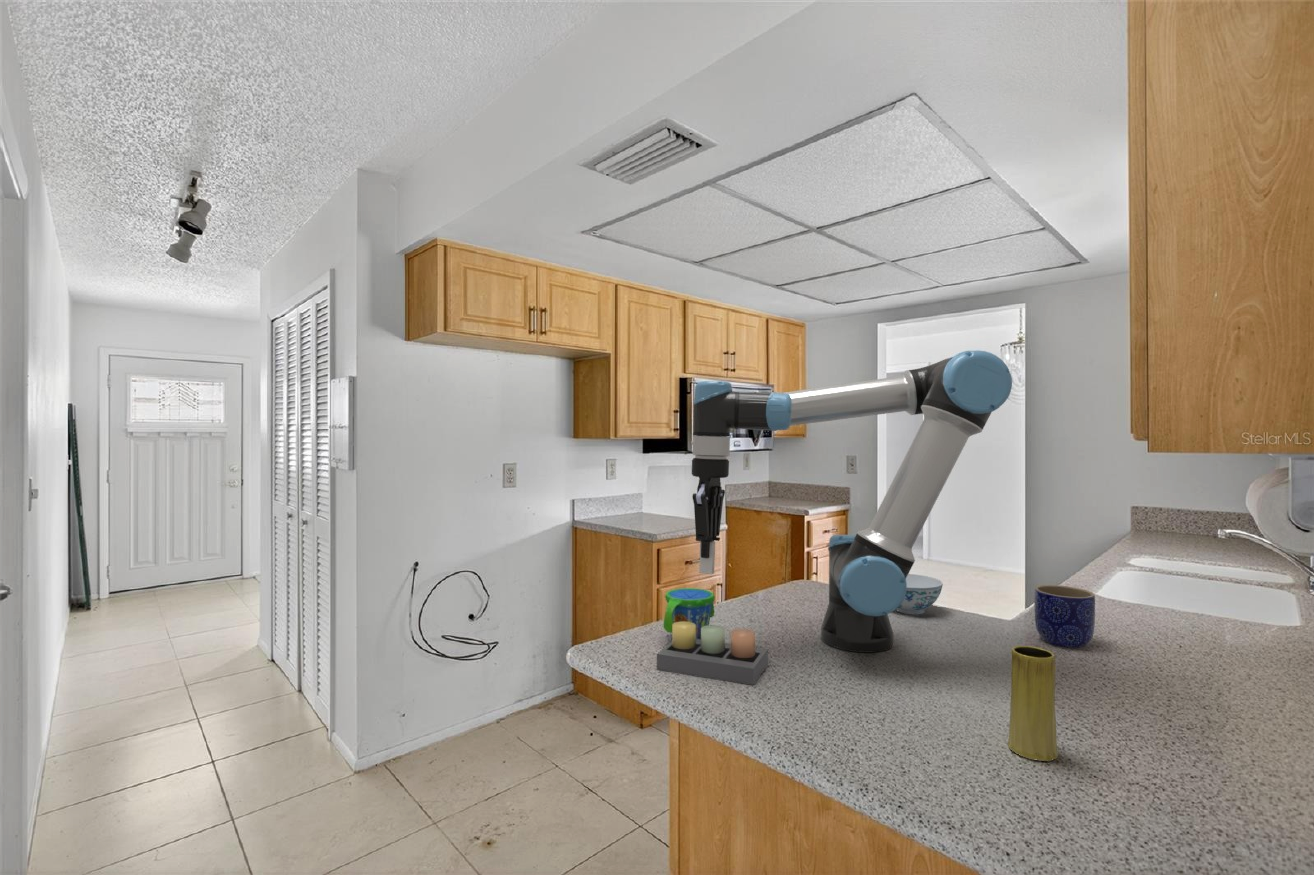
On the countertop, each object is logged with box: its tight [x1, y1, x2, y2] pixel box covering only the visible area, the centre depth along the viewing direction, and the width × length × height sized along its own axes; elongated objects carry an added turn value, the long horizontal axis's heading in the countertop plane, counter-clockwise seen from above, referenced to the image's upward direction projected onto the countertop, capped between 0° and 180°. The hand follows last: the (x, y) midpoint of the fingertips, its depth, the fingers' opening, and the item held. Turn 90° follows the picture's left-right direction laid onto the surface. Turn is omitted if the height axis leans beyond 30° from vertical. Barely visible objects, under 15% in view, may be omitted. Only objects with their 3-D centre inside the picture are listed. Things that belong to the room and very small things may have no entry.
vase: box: [1007, 645, 1059, 762], centre depth 89 cm, size 6×6×14 cm
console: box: [656, 639, 769, 686], centre depth 121 cm, size 19×11×3 cm, turn 66°
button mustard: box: [671, 621, 696, 649], centre depth 124 cm, size 5×5×4 cm
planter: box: [1033, 584, 1096, 649], centre depth 134 cm, size 11×11×11 cm
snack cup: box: [663, 587, 716, 640], centre depth 137 cm, size 16×10×10 cm
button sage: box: [701, 624, 726, 654], centre depth 121 cm, size 5×5×4 cm
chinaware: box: [895, 573, 943, 615], centre depth 159 cm, size 15×15×8 cm
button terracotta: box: [730, 628, 756, 658], centre depth 119 cm, size 5×5×4 cm
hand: (706, 573), depth 128 cm, fingers closed
